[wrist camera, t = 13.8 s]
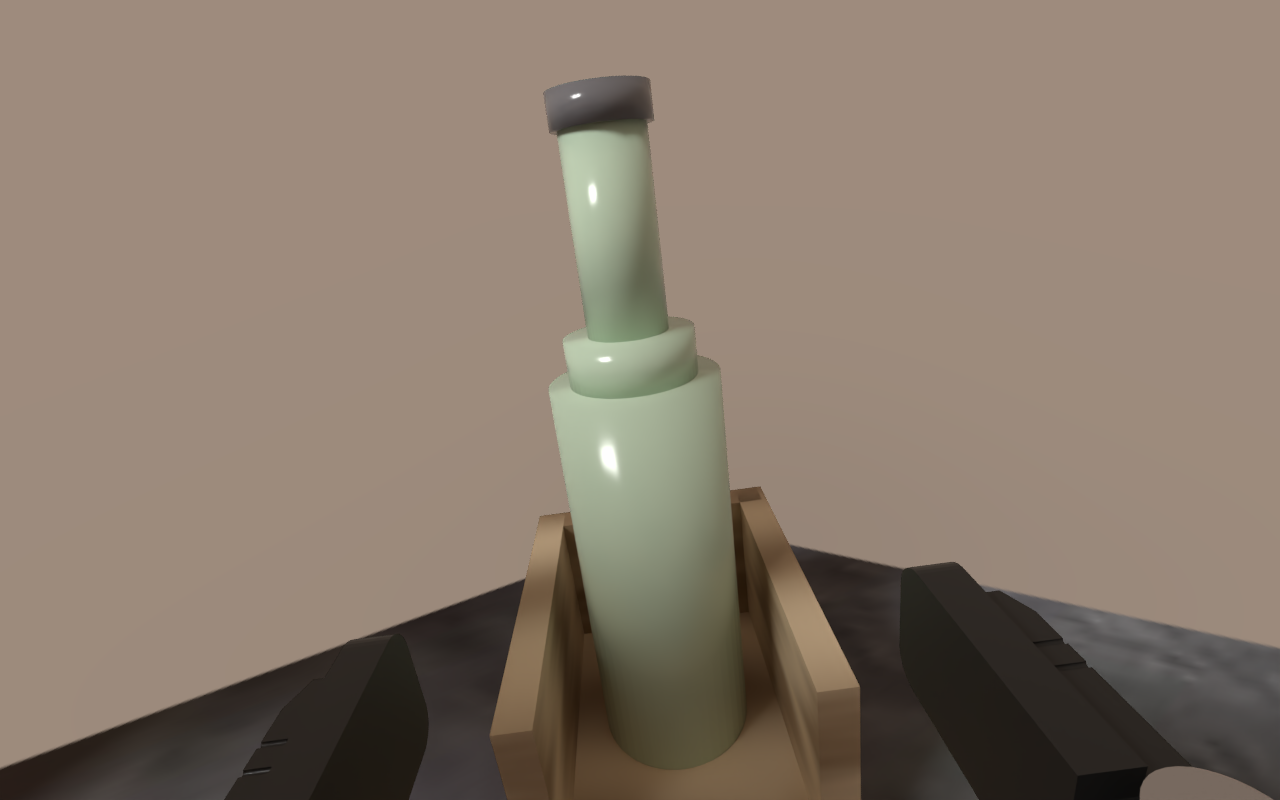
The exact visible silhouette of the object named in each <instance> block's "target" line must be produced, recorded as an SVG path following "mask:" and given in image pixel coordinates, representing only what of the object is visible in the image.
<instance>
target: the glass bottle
mask: <svg viewBox="0 0 1280 800" xmlns="http://www.w3.org/2000/svg"><path fill="white" fill-rule="evenodd" d="M543 95H544V100H545V108H546V114H547V120H548V127H549V133H550V134H554V135H557V139H558V144H559V151H560V158H561V165H562V171H563V178H564V184H565V190H566V197H567V204H568V211H569V217H570V224H571V231H572V237H573V243H574V250H575V257H576V263H577V270H578V276H579V283H580V290H581V296H582V302H583V309H584V316H585V322H586V327H585V328H582V329H579V330H577V331H575V332H572V333H570V334H569V335H567V336H566V337H565V338H564V339H563V347H564V353H565V359H566V364H567V370H568V372H566V373H564V374H562V375H561V376H559V377H558V378H556V379H555V380H554V381H553V382H552V383H551V384H550V386H549V396H550V402H551V407H552V412H553V418H554V423H555V429H556V435H557V440H558V446H559V451H560V457H561V462H562V468H563V474H564V479H565V485H566V490H567V496H568V502H569V506H570V513H571V518H572V524H573V529H574V535H575V540H576V546H577V552H578V557H579V563H580V568H581V574H582V579H583V585H584V590H585V596H586V602H587V607H588V613H589V618H590V624H591V629H592V635H593V640H594V646H595V652H596V657H597V663H598V668H599V674H600V679H601V685H602V690H603V696H604V701H605V707H606V713H607V718H608V723H609V728H610V731H611V733H612V736H613V738H614V739H615V741H616V743H617V744H618V745H619V747H620V748H621V749H622V750H623V751H624V752H625V753H626V754H628V755H629V756H630V757H632V758H633V759H635V760H636V761H638V762H641V763H643V764H645V765H648V766H651V767H654V768H660V769H669V770H679V769H688V768H693V767H697V766H700V765H703V764H705V763H708V762H710V761H712V760H714V759H715V758H717V757H719V756H720V755H722V754H723V753H724V752H725V751H727V750H728V749H729V748H730V747H731V746H732V745H733V744H734V742H735V741H736V740H737V738H738V737H739V735H740V733H741V731H742V729H743V727H744V724H745V720H746V714H747V702H746V690H745V677H744V664H743V651H742V639H741V626H740V613H739V601H738V588H737V575H736V562H735V550H734V537H733V524H732V511H731V499H730V488H729V487H730V486H729V473H728V461H727V448H726V435H725V423H724V410H723V397H722V384H721V372H720V367H719V365H718V364H717V363H716V362H715V361H713V360H711V359H709V358H706V357H703V356H699V355H697V350H696V338H695V327H694V323H693V322H692V321H690V320H687V319H683V318H678V317H668V314H667V305H666V295H665V286H664V276H663V268H662V257H661V248H660V238H659V229H658V221H657V210H656V201H655V191H654V182H653V172H652V164H651V154H650V144H649V135H648V125H647V123H650V122H652V121H653V120H654V114H653V104H652V95H651V85H650V79H649V78H646V77H641V76H609V77H600V78H592V79H585V80H579V81H574V82H569V83H565V84H562V85H558V86H555V87H552V88H550V89H547V90H546V91H545V92H544V93H543Z"/></svg>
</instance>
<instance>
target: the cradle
mask: <svg viewBox="0 0 1280 800" xmlns="http://www.w3.org/2000/svg"><path fill="white" fill-rule="evenodd" d="M730 499H731V511H732V524H733V537H734V550H735V562H736V575H737V588H738V601H739V613H740V626H741V639H742V651H743V664H744V677H745V690H746V702H747V714H746V720H745V724H744V727H743V729H742V731H741V733H740V735H739V737H738V738H737V740H736V741H735V742H734V744H733V745H732V746H731V747H730V748H729V749H728V750H727V751H725V752H724V753H723V754H722V755H720V756H719V757H717V758H715V759H714V760H712V761H710V762H708V763H705V764H703V765H700V766H697V767H693V768H688V769H679V770H669V769H660V768H654V767H651V766H648V765H645V764H643V763H641V762H638V761H636V760H635V759H633V758H632V757H630V756H629V755H628V754H626V753H625V752H624V751H623V750H622V749H621V748H620V747H619V745H618V744H617V743H616V741H615V739H614V738H613V736H612V733H611V731H610V728H609V723H608V718H607V713H606V707H605V701H604V696H603V690H602V685H601V679H600V674H599V668H598V663H597V657H596V652H595V646H594V640H593V635H592V629H591V624H590V618H589V613H588V607H587V602H586V596H585V590H584V585H583V579H582V574H581V568H580V563H579V557H578V552H577V546H576V540H575V535H574V529H573V524H572V518H571V513H570V512H568V513H560V514H552V515H544V516H540V518H539V523H538V527H537V531H536V536H535V540H534V544H533V549H532V553H531V558H530V562H529V566H528V570H527V575H526V579H525V584H524V588H523V592H522V597H521V601H520V605H519V610H518V614H517V618H516V623H515V627H514V632H513V636H512V640H511V645H510V649H509V653H508V658H507V662H506V666H505V671H504V675H503V679H502V684H501V688H500V693H499V697H498V701H497V706H496V710H495V714H494V719H493V723H492V727H491V732H490V740H491V743H492V747H493V750H494V754H495V757H496V761H497V764H498V768H499V772H500V775H501V779H502V782H503V786H504V789H505V793H506V797H507V800H861V750H860V686H859V684H858V682H857V680H856V678H855V676H854V674H853V672H852V670H851V668H850V666H849V664H848V662H847V660H846V658H845V656H844V654H843V652H842V650H841V648H840V646H839V643H838V641H837V639H836V637H835V635H834V633H833V631H832V629H831V627H830V625H829V623H828V621H827V619H826V617H825V615H824V613H823V611H822V609H821V607H820V605H819V603H818V601H817V599H816V597H815V595H814V593H813V591H812V589H811V587H810V585H809V583H808V581H807V579H806V577H805V575H804V573H803V571H802V569H801V567H800V565H799V563H798V561H797V559H796V557H795V555H794V553H793V551H792V549H791V547H790V545H789V543H788V541H787V539H786V537H785V535H784V534H783V531H782V529H781V528H780V525H779V523H778V521H777V519H776V517H775V515H774V513H773V511H772V509H771V507H770V505H769V503H768V501H767V499H766V497H765V496H764V493H763V491H762V489H761V487H752V488H745V489H738V490H730Z"/></svg>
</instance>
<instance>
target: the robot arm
mask: <svg viewBox="0 0 1280 800" xmlns="http://www.w3.org/2000/svg"><path fill="white" fill-rule="evenodd" d="M900 654H901V659H902V664H903V667H904V671H905V673H906V676H907V679H908V681H909V683H910V685H911V687H912V689H913V691H914V692H915V694H916V696H917V697H918V699H919V701H920V702H921V704H922V706H923V707H924V709H925V711H926V712H927V714H928V716H929V717H930V719H931V721H932V722H933V724H934V726H935V727H936V729H937V731H938V732H939V734H940V736H941V737H942V739H943V741H944V742H945V744H946V746H947V747H948V749H949V751H950V752H951V754H952V756H953V757H954V759H955V761H956V762H957V764H958V766H959V767H960V769H961V770H962V772H963V774H964V775H965V777H966V779H967V780H968V782H969V784H970V785H971V787H972V789H973V790H974V792H975V794H976V795H977V797H978V799H979V800H1273V799H1271V798H1270V797H1268V796H1267V795H1265V794H1263V793H1261V792H1260V791H1258V790H1256V789H1254V788H1253V787H1251V786H1248V785H1246V784H1244V783H1242V782H1240V781H1238V780H1236V779H1233V778H1230V777H1228V776H1225V775H1222V774H1220V773H1216V772H1212V771H1209V770H1205V769H1200V768H1194V767H1192V766H1191V765H1190V764H1189V763H1188V762H1187V761H1186V760H1185V759H1184V758H1183V757H1182V756H1181V755H1180V754H1179V753H1178V752H1177V751H1176V750H1175V749H1174V748H1173V747H1172V746H1171V745H1170V744H1169V743H1168V742H1167V741H1166V740H1165V739H1164V738H1163V737H1162V736H1161V735H1160V734H1159V733H1158V732H1157V731H1156V730H1155V729H1154V728H1153V727H1152V726H1151V725H1150V724H1149V723H1148V722H1147V721H1146V720H1145V719H1144V718H1143V717H1142V716H1141V715H1140V714H1138V713H1137V712H1136V711H1135V710H1134V709H1133V708H1132V707H1131V706H1130V705H1129V704H1128V703H1127V702H1126V701H1125V700H1124V699H1123V698H1122V697H1121V696H1120V695H1119V694H1118V693H1117V692H1116V691H1115V690H1114V689H1113V688H1112V687H1111V686H1110V685H1109V684H1108V683H1107V682H1106V681H1105V680H1104V679H1103V678H1102V677H1101V676H1100V675H1099V674H1098V673H1097V672H1096V671H1095V670H1094V669H1093V668H1092V667H1090V668H1088V666H1087V665H1086V661H1085V660H1084V659H1083V658H1082V657H1081V656H1080V655H1079V654H1078V653H1077V652H1076V651H1075V650H1074V649H1073V648H1072V647H1071V646H1070V645H1069V644H1064V642H1063V638H1062V637H1061V636H1060V635H1059V634H1058V633H1057V632H1056V631H1055V630H1054V629H1053V628H1052V627H1051V626H1050V625H1049V624H1048V623H1047V622H1046V621H1045V620H1044V619H1043V618H1042V617H1041V616H1040V615H1039V614H1038V613H1037V612H1036V611H1034V610H1032V609H1031V608H1029V607H1027V606H1025V605H1024V604H1022V603H1020V602H1018V601H1017V600H1015V599H1013V598H1011V597H1010V596H1008V595H1006V594H1004V593H1003V592H1001V591H992V592H985V591H984V590H983V589H982V588H981V587H980V586H979V584H978V583H977V582H976V581H975V580H974V579H973V578H972V577H971V576H970V575H969V574H968V573H967V572H966V570H965V569H963V567H961V566H960V565H959V564H958V563H955V562H948V563H940V564H933V565H925V566H917V567H910V568H906V569H904V571H903V573H902V577H901V604H900ZM427 738H428V712H427V707H426V703H425V700H424V697H423V693H422V690H421V687H420V684H419V681H418V678H417V675H416V671H415V668H414V665H413V662H412V659H411V656H410V653H409V649H408V646H407V644H406V641H405V639H404V638H403V637H402V636H401V635H400V634H393V635H385V636H378V637H370V638H363V639H355V640H350V641H349V642H347V643H346V644H345V645H344V647H343V648H342V649H341V651H340V653H339V655H338V656H337V658H336V660H335V661H334V663H333V665H332V666H331V668H330V670H329V671H328V673H327V675H326V676H325V678H322V679H315V680H313V681H311V682H310V683H309V684H308V685H307V686H306V687H305V688H304V689H303V690H302V691H301V692H300V693H299V694H298V695H297V696H296V697H295V698H293V699H292V700H291V701H290V702H289V703H288V704H287V705H286V706H285V707H284V708H283V709H282V710H281V712H280V713H279V715H278V717H277V718H276V720H275V721H274V723H273V724H272V726H271V727H270V729H269V731H268V732H267V734H266V735H265V737H264V738H263V740H262V742H261V748H259V749H256V751H255V752H254V754H253V756H252V757H251V759H250V760H249V762H248V763H247V765H246V766H245V768H244V770H243V776H242V777H240V778H238V779H237V781H236V782H235V784H234V785H233V787H232V788H231V790H230V791H229V793H228V795H227V796H226V798H225V799H224V800H409V797H410V794H411V791H412V788H413V785H414V782H415V779H416V776H417V773H418V770H419V767H420V764H421V761H422V758H423V755H424V752H425V749H426V744H427Z"/></svg>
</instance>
